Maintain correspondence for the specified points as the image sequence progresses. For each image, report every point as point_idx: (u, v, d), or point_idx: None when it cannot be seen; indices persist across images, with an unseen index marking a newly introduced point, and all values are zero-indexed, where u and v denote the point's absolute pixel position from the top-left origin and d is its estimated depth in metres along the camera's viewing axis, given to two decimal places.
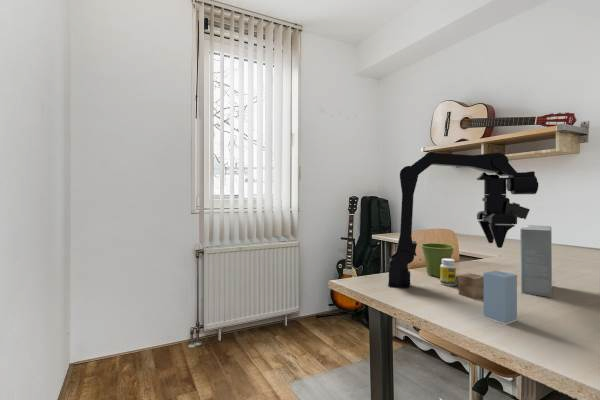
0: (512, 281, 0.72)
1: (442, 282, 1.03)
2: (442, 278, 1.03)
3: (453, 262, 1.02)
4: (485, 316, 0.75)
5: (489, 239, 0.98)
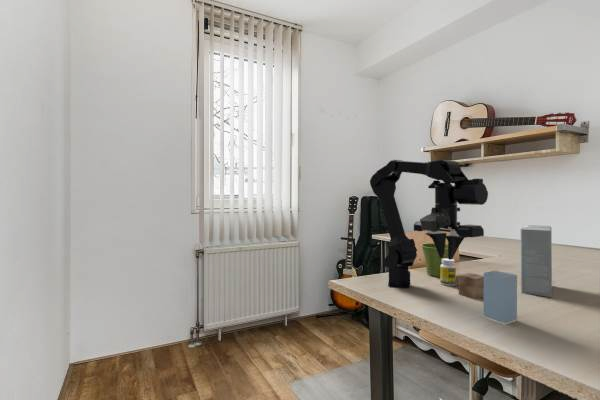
0: (512, 281, 0.72)
1: (442, 282, 1.03)
2: (442, 278, 1.03)
3: (453, 262, 1.02)
4: (485, 316, 0.75)
5: None
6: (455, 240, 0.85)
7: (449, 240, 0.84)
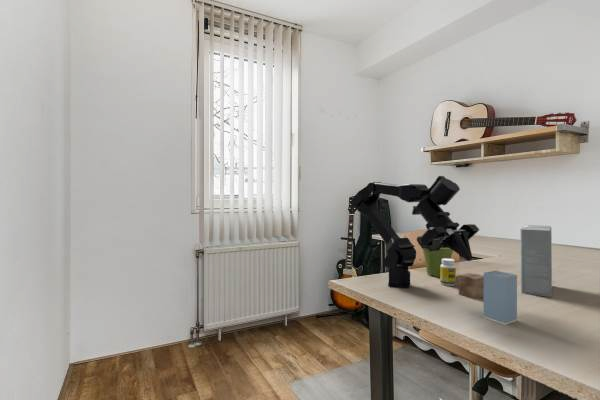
0: (512, 281, 0.72)
1: (442, 282, 1.03)
2: (442, 278, 1.03)
3: (453, 262, 1.02)
4: (485, 316, 0.75)
5: None
6: (454, 242, 0.83)
7: None
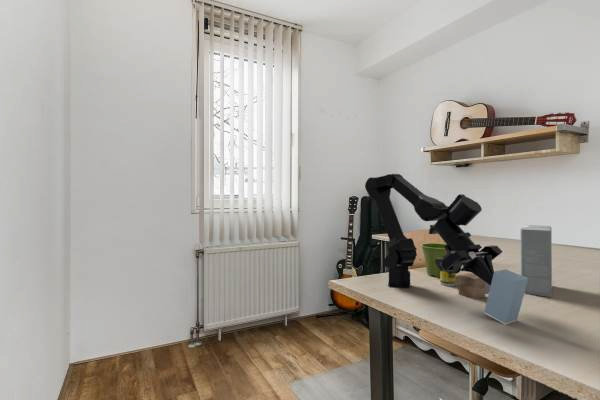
0: (522, 284, 0.70)
1: (442, 282, 1.03)
2: (442, 278, 1.03)
3: None
4: (486, 312, 0.75)
5: None
6: (477, 266, 0.78)
7: None
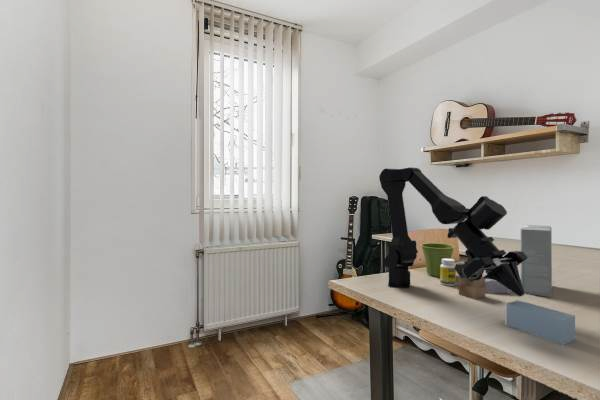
0: None
1: (442, 282, 1.03)
2: (442, 278, 1.03)
3: (453, 262, 1.02)
4: (506, 305, 0.71)
5: None
6: (502, 274, 0.72)
7: None
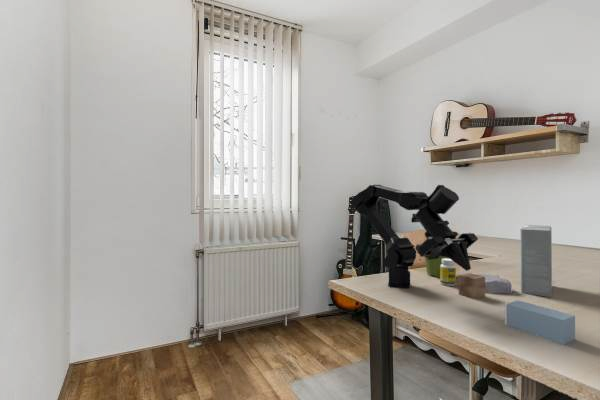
0: None
1: (442, 282, 1.03)
2: (442, 278, 1.03)
3: (453, 262, 1.02)
4: (506, 305, 0.71)
5: None
6: (453, 252, 0.83)
7: None
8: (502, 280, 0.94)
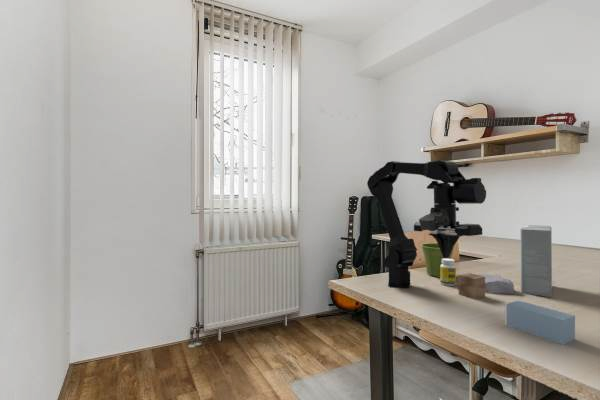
0: None
1: (442, 282, 1.03)
2: (442, 278, 1.03)
3: (453, 262, 1.02)
4: (506, 305, 0.71)
5: None
6: (450, 239, 0.87)
7: (444, 239, 0.86)
8: (504, 280, 0.94)
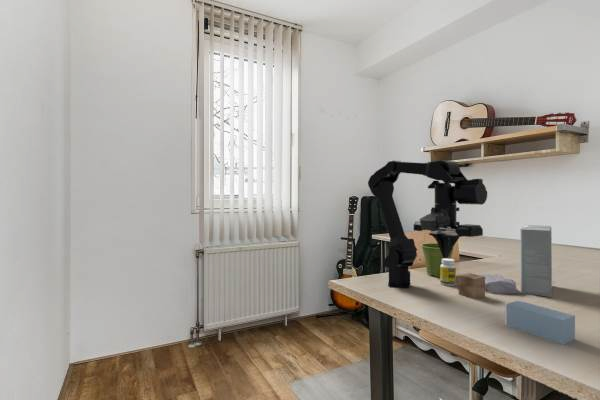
0: None
1: (442, 282, 1.03)
2: (442, 278, 1.03)
3: (453, 262, 1.02)
4: (506, 305, 0.71)
5: None
6: (450, 239, 0.87)
7: (444, 239, 0.86)
8: (507, 280, 0.94)
